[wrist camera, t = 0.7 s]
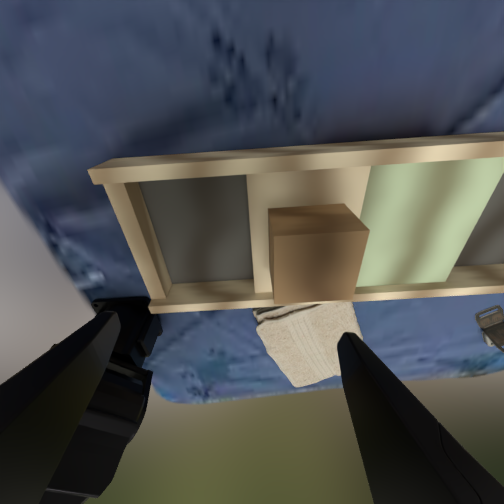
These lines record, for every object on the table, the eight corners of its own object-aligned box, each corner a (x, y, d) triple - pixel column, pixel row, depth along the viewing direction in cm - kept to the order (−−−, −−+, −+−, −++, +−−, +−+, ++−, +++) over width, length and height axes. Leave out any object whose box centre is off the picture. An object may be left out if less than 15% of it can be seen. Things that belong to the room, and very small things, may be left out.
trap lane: (161, 289, 26) (151, 313, 23) (112, 158, 18) (87, 169, 15) (521, 267, 25) (557, 289, 22) (628, 122, 18) (704, 127, 15)
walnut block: (269, 268, 21) (274, 304, 18) (267, 208, 18) (273, 236, 14) (333, 264, 21) (352, 299, 17) (344, 203, 18) (370, 230, 14)
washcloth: (339, 271, 26) (350, 290, 23) (368, 354, 35) (378, 375, 32) (245, 305, 28) (245, 326, 26) (294, 374, 37) (298, 395, 35)
